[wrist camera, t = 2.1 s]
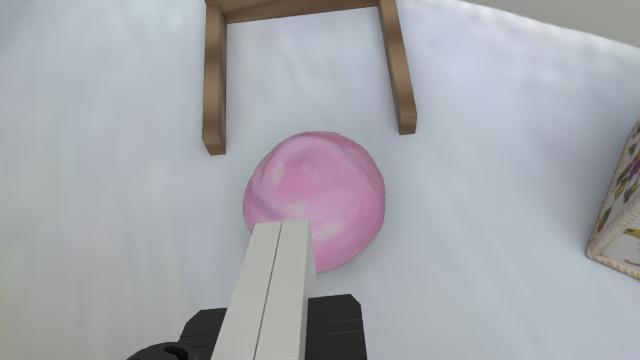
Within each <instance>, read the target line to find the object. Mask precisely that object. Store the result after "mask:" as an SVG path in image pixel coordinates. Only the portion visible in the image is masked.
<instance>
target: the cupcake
mask: <svg viewBox="0 0 640 360" xmlns="http://www.w3.org/2000/svg"><path fill="white" fill-rule="evenodd" d="M384 211H385V188H384V181H383V178H382V175H381V173H380V171H379V169H378V167H377V166H376V164H375V162H374V161H373V159H372V158H371V156H370V155H369V154H368V152H367V151H366V150H365V149H364V148H362V147H361V146H360V145H359V144H357V143H355V142H354V141H352V140H350V139H348V138H346V137H344V136H342V135H339V134H337V133H332V132H320V131H318V132H305V133H300V134H297V135H294V136H292V137H290V138H288V139H286V140H284V141H282V142H281V143H279V144H278V145H277V146H276V147H275V148H274V149H273V150H272V151H271V152H270V153H269V154H268V155H267V156H266V157H265V158H264V159H263V160H262V161H261V162H260V164H259V165H258V167H257V168H256V170H255V172H254V174H253V176H252V177H251V179H250V180H249V182H248V185H247V187H246V190H245V195H244V202H243V212H244V217H245V221H246V224H247V226H248V228H249V230H250V232H251V234H252V233H253V230H254V227H255V224H258V223H267V222H277V221H282V222H283V221H287V220H296V219H306V218H309V221H310V229H311V237H312V245H313V252H314V260H315V268H316V271H317V272H323V271H329V270H332V269H335V268H337V267H339V266H341V265H343V264H345V263H347V262H349V261H350V260H351V259H353V258H354V257H355V256H357V255H358V254H359V253H361V252H362V251H363V250H364V249H365V248H366V247H367V246H368V245H369V244H370V243H371V241H372V240H373V238H374V237H375V236H376V235H377V233H378V232H379V230H380V229H381V226H382V224H383V220H384Z"/></svg>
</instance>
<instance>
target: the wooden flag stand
mask: <svg viewBox="0 0 640 360" xmlns="http://www.w3.org/2000/svg"><path fill="white" fill-rule="evenodd" d="M205 3H206V34H205V65H204V96H203V127H202V140H203V142H204V144H205V146H206V148H207V149H208V151H209V153H210V155H211V156H212V155H221V154H225V151H226V30H227V24H229V23H238V22H246V21H255V20H263V19H271V18H280V17H288V16H297V15H305V14H313V13H322V12H330V11H338V10H347V9H355V8H364V7H372V6H378V9H379V15H380V21H381V27H382V33H383V39H384V45H385V51H386V56H387V62H388V68H389V74H390V80H391V86H392V92H393V98H394V104H395V109H396V115H397V121H398V127H399V133H400V135H404V134H413V133H415V129H416V122H417V111H416V106H415V101H414V96H413V90H412V85H411V80H410V75H409V70H408V64H407V59H406V54H405V49H404V43H403V38H402V33H401V28H400V23H399V17H398V12H397V7H396V2H395V0H205Z"/></svg>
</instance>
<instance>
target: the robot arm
mask: <svg viewBox="0 0 640 360" xmlns="http://www.w3.org/2000/svg"><path fill="white" fill-rule="evenodd" d="M127 360H367V353H366V345H365V337H364V328H363V320H362V312H361V304H360V303H359V302H358V301H357V300H356V299H355V298H354V297H353V296H352V295H351V294H345V295H334V296H324V297H319V291H318V283H317V276H316V268H315V260H314V252H313V245H312V237H311V229H310V221H309V218H306V219H296V220H287V221H283V222H282V221H277V222H267V223H258V224H255V227H254V230H253V233H252V236H251V239H250V242H249V245H248V248H247V251H246V254H245V257H244V260H243V263H242V266H241V269H240V272H239V275H238V278H237V281H236V284H235V287H234V290H233V293H232V296H231V299H230V303H229V306H228V308H217V309H207V310H200V311H199V312H198V313H197V314H196V315H194V316H193V317H192V318H191V319H190V320H189V321H188V322H187V323H186V325H185V327H184V329H183V332H182V334H181V336H180V339H179V341H178V342H165V343H160V344H156V345H152V346H150V347H147V348H145V349H142V350H140V351H138V352H137V353H135V354H134V355H132V356H131V357H129V358H128V359H127Z"/></svg>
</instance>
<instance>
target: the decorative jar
mask: <svg viewBox="0 0 640 360" xmlns="http://www.w3.org/2000/svg"><path fill="white" fill-rule="evenodd" d="M586 256H587V257H588V258H590V259H594V260H596V261H598V262H601V263H603V264H605V265H607V266H611V267H613V268H614V269H616V270H619V271H621V272H623V273H625V274H627V275H629V276H632V277H634V278H636V279H639V280H640V119H639V121H638V122H637V123H636V125H635V126H634V128H633V129H632V131H631V133H630V135H629V137H628V140H627V143H626V145H625V148H624V151H623V153H622V156H621V158H620V162H619V163H618V166H617V169H616V172H615V175H614V177H613V180H612V182H611V185H610V187H609V189H608V192H607V195H606V198H605V200H604V203H603V206H602V208H601V211H600V214H599V217H598V220H597V223H596V225H595V228H594V231H593V233H592V236H591V238H590V242H589V244H588V246H587V248H586Z"/></svg>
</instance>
